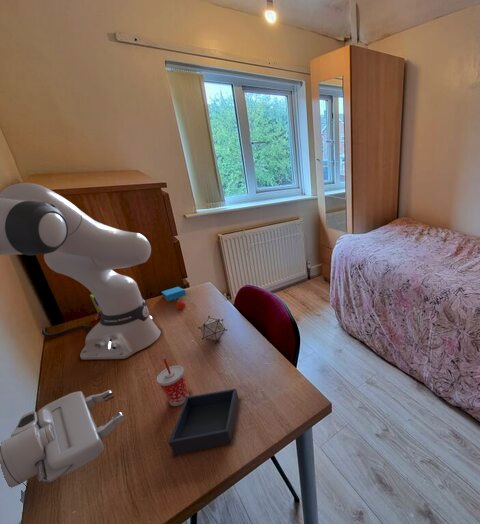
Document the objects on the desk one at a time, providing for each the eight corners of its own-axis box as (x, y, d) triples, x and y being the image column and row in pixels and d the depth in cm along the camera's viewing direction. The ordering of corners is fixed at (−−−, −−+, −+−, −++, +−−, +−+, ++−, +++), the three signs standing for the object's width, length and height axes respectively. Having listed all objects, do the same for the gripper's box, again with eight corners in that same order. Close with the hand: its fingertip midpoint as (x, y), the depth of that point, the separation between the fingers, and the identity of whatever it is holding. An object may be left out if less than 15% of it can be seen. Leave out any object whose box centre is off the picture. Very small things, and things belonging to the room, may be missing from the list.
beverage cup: (190, 404, 76) (176, 364, 70) (164, 411, 74) (147, 371, 68) (193, 387, 81) (180, 348, 75) (168, 393, 79) (153, 354, 74)
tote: (174, 455, 64) (168, 442, 62) (190, 408, 75) (186, 396, 73) (231, 443, 66) (227, 431, 64) (239, 399, 77) (236, 388, 75)
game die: (214, 344, 103) (205, 318, 104) (235, 336, 103) (226, 310, 104) (198, 349, 94) (189, 321, 96) (220, 340, 94) (211, 312, 95)
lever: (166, 306, 128) (173, 312, 115) (161, 291, 127) (167, 296, 113) (183, 300, 133) (191, 306, 119) (178, 286, 131) (186, 290, 117)
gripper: (30, 477, 49) (126, 420, 59) (22, 410, 61) (102, 372, 71) (47, 498, 52) (136, 440, 61) (36, 430, 64) (111, 391, 74)
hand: (117, 403), depth 66 cm, fingers open, 8 cm apart
